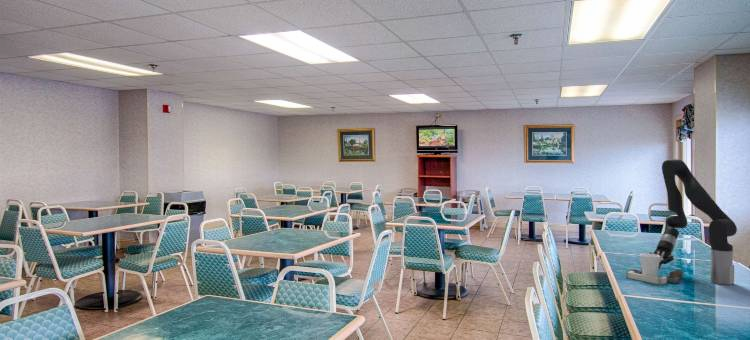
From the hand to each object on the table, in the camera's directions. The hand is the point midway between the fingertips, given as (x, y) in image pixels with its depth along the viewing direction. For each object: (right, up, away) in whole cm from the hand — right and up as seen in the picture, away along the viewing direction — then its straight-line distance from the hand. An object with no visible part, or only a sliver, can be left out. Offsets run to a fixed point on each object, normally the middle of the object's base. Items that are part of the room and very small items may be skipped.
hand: (656, 268), depth 258 cm
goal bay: (-9, -5, -6) cm, 12 cm away
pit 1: (-8, -5, +6) cm, 11 cm away
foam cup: (-6, -5, -4) cm, 8 cm away
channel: (+5, -5, +4) cm, 8 cm away
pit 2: (+2, -5, -10) cm, 11 cm away
